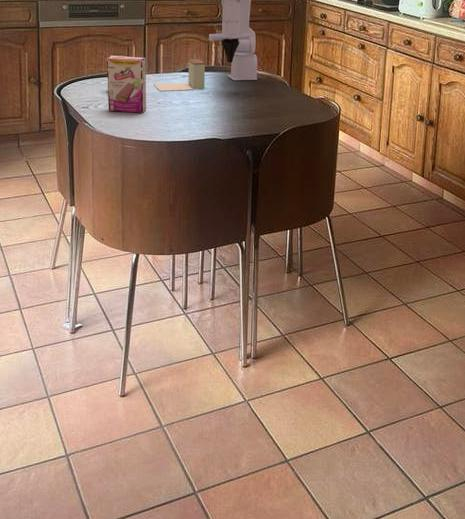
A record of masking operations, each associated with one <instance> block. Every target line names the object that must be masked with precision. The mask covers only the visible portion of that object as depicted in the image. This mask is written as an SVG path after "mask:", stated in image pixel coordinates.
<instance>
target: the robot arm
mask: <svg viewBox="0 0 465 519" xmlns="http://www.w3.org/2000/svg"><path fill="white" fill-rule="evenodd" d="M251 2H252V0H221V7H222V17H221V18H222V19H221V22H222V23H221V26H222V27H221V32H220V33H209V34H208V40H209V41H210V42H213V41H220V42H221V45H222V47H223V50H224V52H225V58H226V62H227V63H231V65H230V66H231V68H230V74H227V77H228V78H229V79H231V80H232V81H257V80H258V78H257V77H258V57H257V55H256V54H255V53H256V45H257V43H256V41H257V40H256V39H257V38H256V37H257V35H256V32H255V31H254V30H253V29H252V28H250V18H251V17H250V14H251V5H252V4H251Z"/></svg>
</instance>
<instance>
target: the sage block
mask: <svg viewBox="0 0 465 519" xmlns="http://www.w3.org/2000/svg"><path fill="white" fill-rule="evenodd" d="M205 66H206V64H205V62H204V61H203V60H201V59H200V58H193V59H192V58H191V59H188V85H189V86H190V87H191V88H193V90H204V89H205V81H206V80H205V78H206V77H205V74H206V69H205V68H206V67H205Z"/></svg>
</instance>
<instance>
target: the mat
mask: <svg viewBox="0 0 465 519" xmlns="http://www.w3.org/2000/svg"><path fill="white" fill-rule="evenodd" d="M153 86H154V87H155V88H156V90H158V91H159V92H175V91H176V92H178V91H194V89H193V88H192V87H191V86H189V83H187V82H176V83H175V82H172V83H171V82H170V83H153Z"/></svg>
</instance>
